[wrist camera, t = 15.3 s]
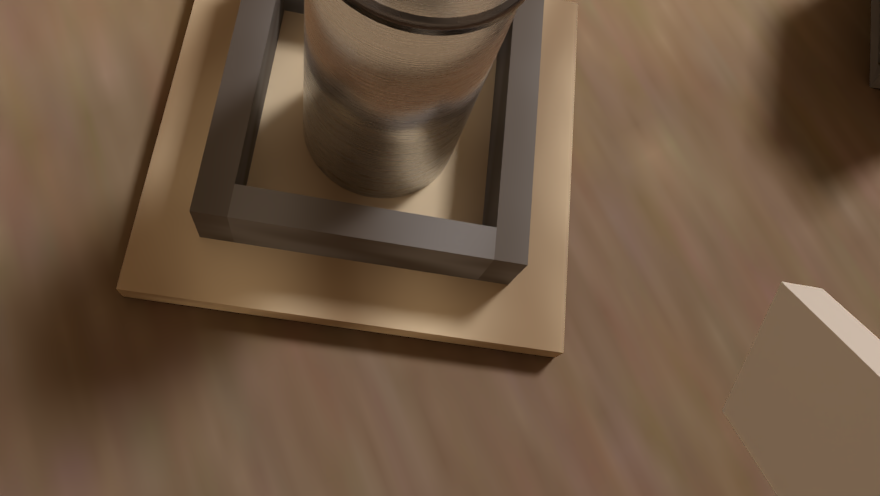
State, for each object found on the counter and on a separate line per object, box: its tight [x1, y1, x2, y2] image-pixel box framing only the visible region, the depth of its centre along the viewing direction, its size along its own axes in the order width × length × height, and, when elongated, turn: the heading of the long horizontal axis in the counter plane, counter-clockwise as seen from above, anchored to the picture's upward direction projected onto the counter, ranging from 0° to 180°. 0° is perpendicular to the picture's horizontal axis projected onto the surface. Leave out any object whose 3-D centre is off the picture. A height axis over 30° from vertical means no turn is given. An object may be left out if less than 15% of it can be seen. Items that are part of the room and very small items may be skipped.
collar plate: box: [116, 0, 578, 358], centre depth 27 cm, size 16×16×4 cm
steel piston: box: [303, 0, 525, 198], centre depth 22 cm, size 6×6×12 cm
